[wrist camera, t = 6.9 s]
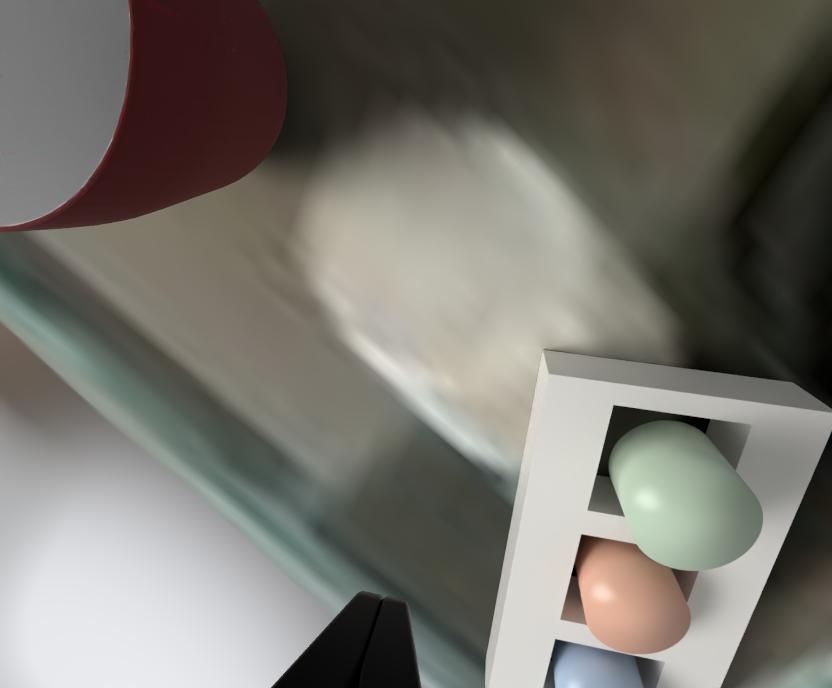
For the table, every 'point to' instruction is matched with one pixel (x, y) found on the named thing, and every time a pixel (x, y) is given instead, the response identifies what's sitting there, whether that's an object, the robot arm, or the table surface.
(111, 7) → the mug
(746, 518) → the sage button
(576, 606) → the panel
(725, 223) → the table surface
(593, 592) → the terracotta button
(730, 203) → the table surface
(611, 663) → the slate button
